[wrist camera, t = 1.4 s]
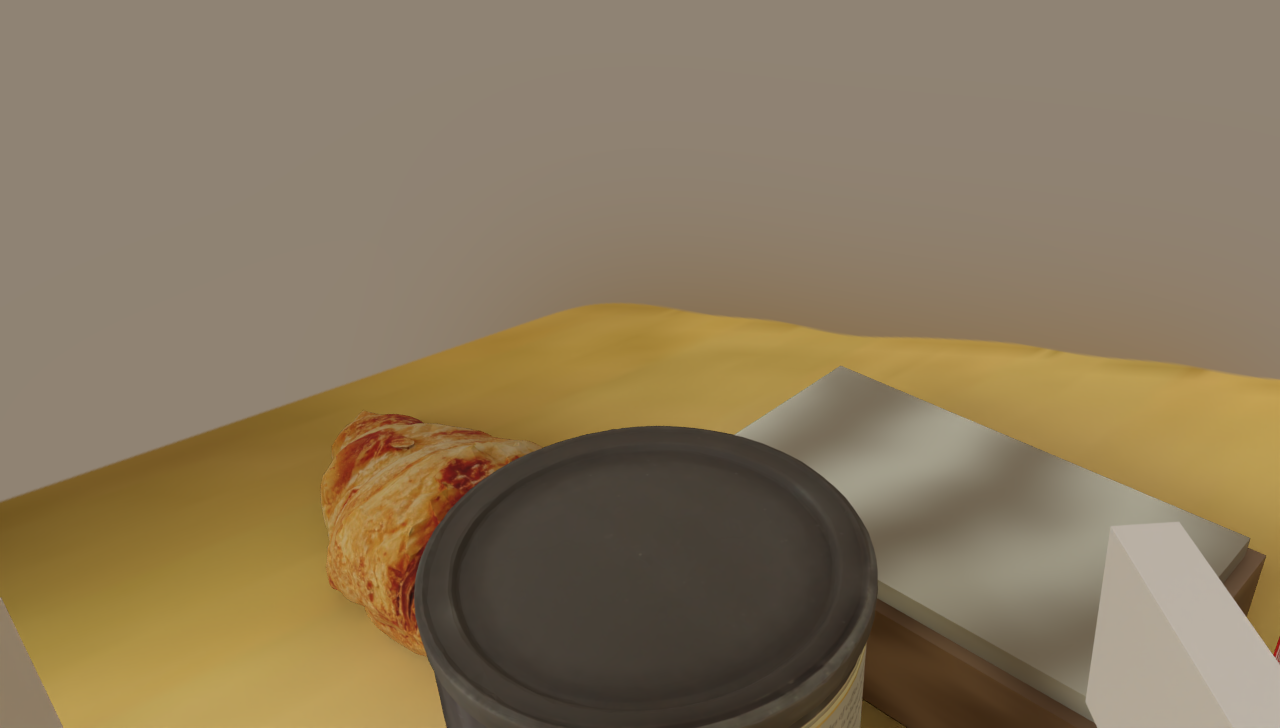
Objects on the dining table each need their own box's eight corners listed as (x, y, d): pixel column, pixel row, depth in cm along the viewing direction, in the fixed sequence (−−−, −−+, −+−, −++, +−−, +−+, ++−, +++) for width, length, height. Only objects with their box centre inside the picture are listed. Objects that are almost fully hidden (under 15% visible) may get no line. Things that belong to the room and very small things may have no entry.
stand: (668, 572, 44) (662, 469, 42) (834, 452, 51) (838, 357, 48) (1089, 846, 33) (1119, 730, 30) (1236, 648, 39) (1272, 537, 36)
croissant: (323, 535, 53) (207, 444, 48) (470, 390, 55) (374, 287, 50) (543, 834, 38) (409, 750, 32) (737, 619, 40) (640, 506, 34)
